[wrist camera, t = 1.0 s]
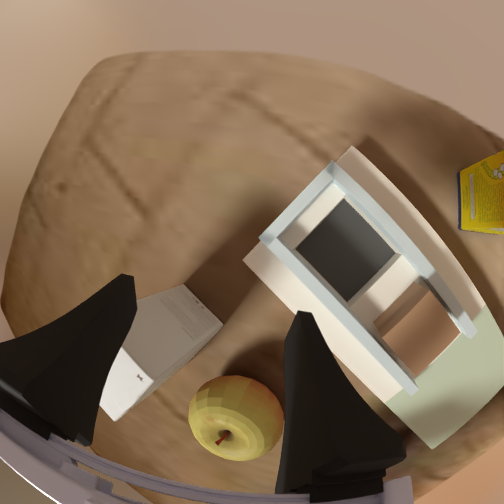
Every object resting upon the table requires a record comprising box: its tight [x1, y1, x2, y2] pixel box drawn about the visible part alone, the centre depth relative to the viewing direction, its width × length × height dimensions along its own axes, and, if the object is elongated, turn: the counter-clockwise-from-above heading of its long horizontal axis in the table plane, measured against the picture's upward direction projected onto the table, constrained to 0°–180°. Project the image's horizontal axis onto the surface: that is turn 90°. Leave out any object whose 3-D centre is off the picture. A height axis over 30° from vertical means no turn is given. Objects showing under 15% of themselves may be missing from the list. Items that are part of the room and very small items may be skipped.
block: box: [374, 281, 461, 376], centre depth 18 cm, size 5×5×4 cm
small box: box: [99, 284, 223, 421], centre depth 23 cm, size 8×6×13 cm
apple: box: [189, 375, 284, 461], centre depth 24 cm, size 10×10×8 cm
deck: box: [243, 146, 504, 449], centre depth 20 cm, size 32×14×4 cm, turn 46°
